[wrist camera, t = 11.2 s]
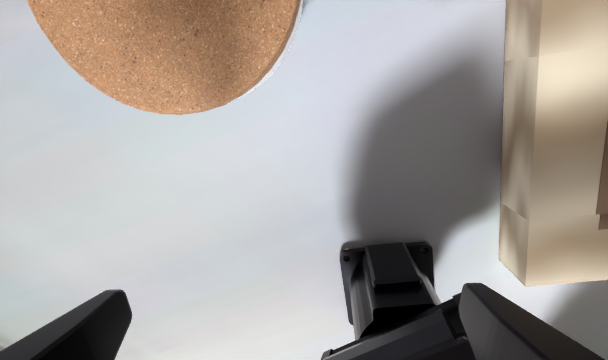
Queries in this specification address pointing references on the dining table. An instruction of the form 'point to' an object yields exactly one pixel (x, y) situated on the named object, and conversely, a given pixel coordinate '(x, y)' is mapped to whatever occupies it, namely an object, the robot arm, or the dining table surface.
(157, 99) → the lidded jar
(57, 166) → the dining table surface
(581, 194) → the maple socket board
